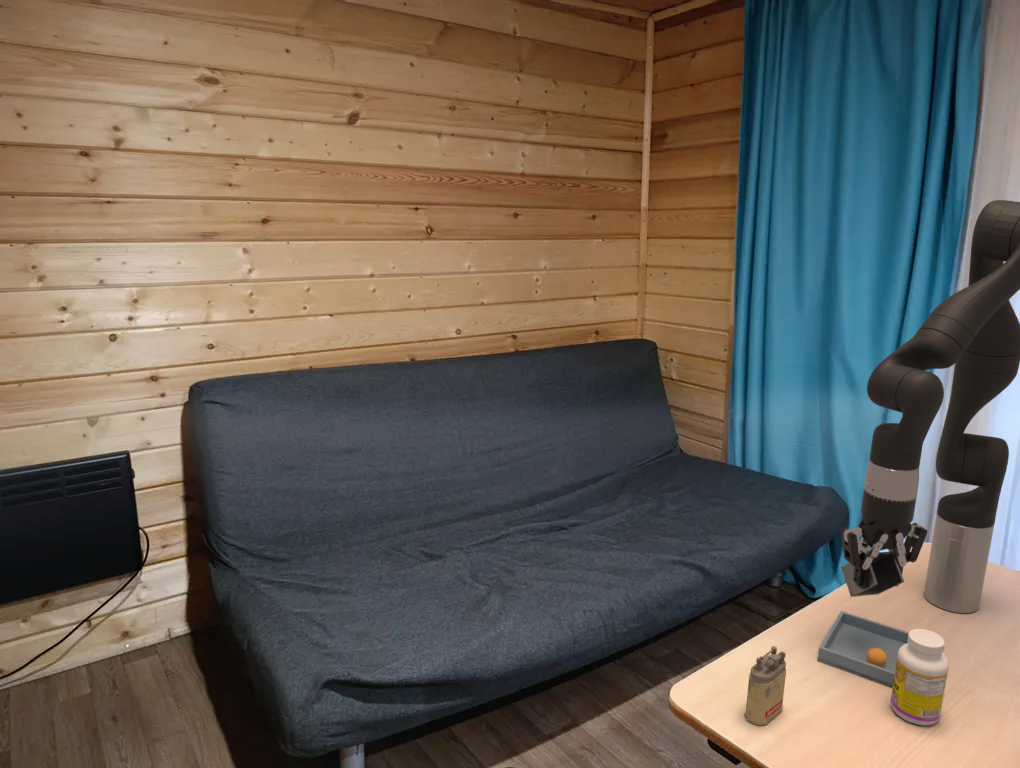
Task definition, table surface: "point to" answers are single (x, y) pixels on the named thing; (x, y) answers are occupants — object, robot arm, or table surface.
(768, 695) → the lighter
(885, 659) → the ball
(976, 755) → the table surface
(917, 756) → the table surface
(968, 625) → the table surface
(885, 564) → the open box
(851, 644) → the tray
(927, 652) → the supplement bottle
